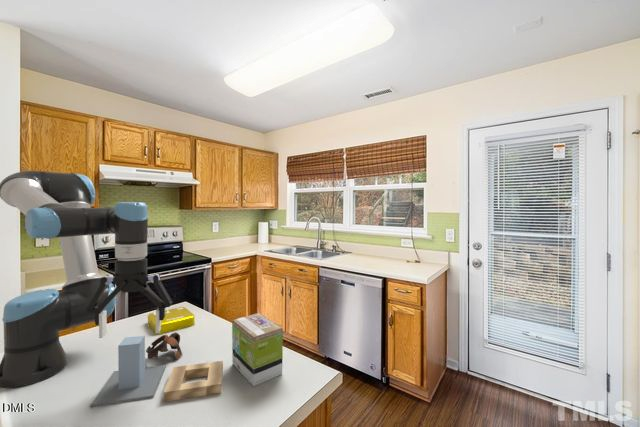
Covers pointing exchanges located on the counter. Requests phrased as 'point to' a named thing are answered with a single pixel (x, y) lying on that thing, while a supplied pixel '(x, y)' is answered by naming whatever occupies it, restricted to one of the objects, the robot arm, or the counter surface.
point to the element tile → (172, 320)
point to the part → (131, 362)
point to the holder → (194, 389)
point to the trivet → (116, 395)
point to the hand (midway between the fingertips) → (131, 333)
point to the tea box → (257, 348)
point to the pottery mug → (165, 345)
